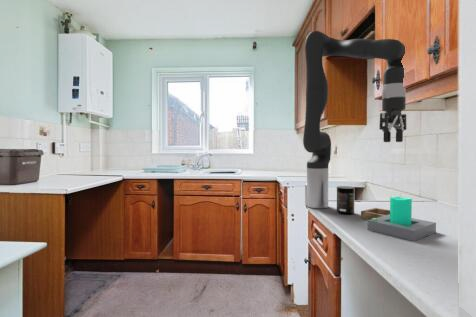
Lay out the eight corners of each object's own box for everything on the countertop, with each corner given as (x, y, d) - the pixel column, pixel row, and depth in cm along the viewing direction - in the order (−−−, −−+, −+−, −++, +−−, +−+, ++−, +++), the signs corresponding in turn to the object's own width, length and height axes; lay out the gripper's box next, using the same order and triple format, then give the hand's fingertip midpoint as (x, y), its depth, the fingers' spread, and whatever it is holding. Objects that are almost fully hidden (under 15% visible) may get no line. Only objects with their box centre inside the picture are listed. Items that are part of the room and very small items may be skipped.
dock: (367, 229, 93) (367, 218, 92) (390, 222, 101) (390, 212, 100) (414, 241, 81) (414, 228, 81) (435, 232, 89) (436, 220, 89)
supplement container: (356, 212, 116) (356, 186, 116) (352, 216, 111) (352, 189, 110) (338, 210, 120) (338, 185, 120) (334, 214, 114) (334, 187, 114)
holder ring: (360, 217, 108) (360, 211, 108) (375, 214, 113) (375, 207, 113) (387, 223, 99) (387, 216, 99) (402, 219, 105) (402, 212, 105)
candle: (416, 232, 89) (416, 194, 88) (400, 234, 87) (401, 195, 86) (399, 227, 94) (400, 191, 94) (385, 229, 93) (385, 192, 92)
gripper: (393, 100, 112) (393, 142, 113) (372, 97, 104) (372, 142, 105) (414, 97, 106) (413, 141, 107) (393, 94, 98) (393, 141, 99)
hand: (393, 142), depth 106 cm, fingers open, 8 cm apart
